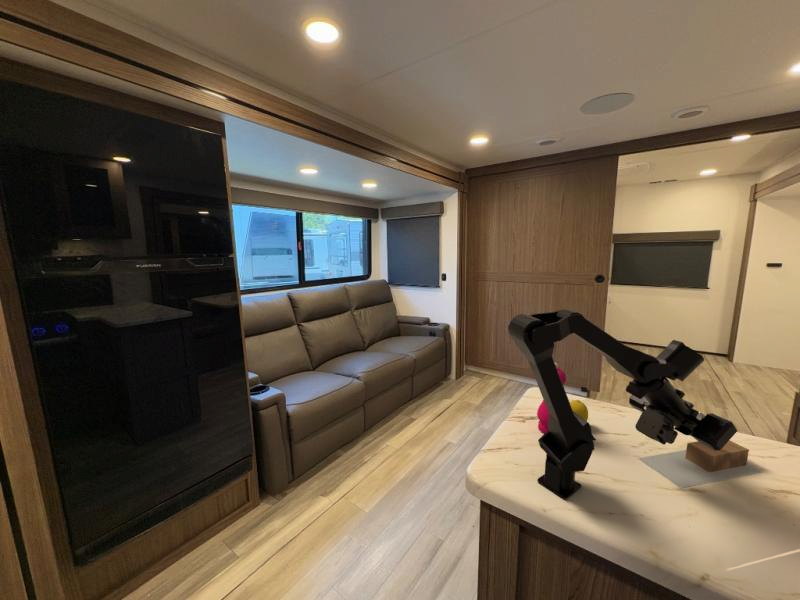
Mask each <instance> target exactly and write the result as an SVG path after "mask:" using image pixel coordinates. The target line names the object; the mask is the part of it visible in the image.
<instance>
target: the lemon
mask: <svg viewBox="0 0 800 600" xmlns="http://www.w3.org/2000/svg"><path fill="white" fill-rule="evenodd" d="M569 402H570V405H571V408H572V410H573V411H574V412H575V413H576V414H578V415H579V416H580V417H582V418H583V419H584V420H585V421H587V422H588V420H589V410H588V407H587V405H586V404H585V403H584V402H583V401H580V399H576V400H571V401H569Z"/></svg>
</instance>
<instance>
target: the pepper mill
mask: <svg viewBox="0 0 800 600" xmlns="http://www.w3.org/2000/svg"><path fill="white" fill-rule="evenodd" d="M554 363H555V365H556V368H557V371H558V373H559V376H560V378H561V381H562V384H563V385H564V384H565V383H566V382H567V376H566V373H565V372H564V371H563V370H562V369H561V368H559V364H558V362H555V361H554ZM536 417H537V419H538V422H537V423H538V424H537V429H538V431H539V432H540V431H541V434H543V433H544V434H545V433H546V432H547V431H548V430H549V427H548V421H549V417H550V415H549V412H548V409H547V407H546V404H545V402H544V399H542V402H541V403H540V404H539V406H538V408H537V411H536ZM544 434H543V435H544Z"/></svg>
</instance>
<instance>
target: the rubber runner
mask: <svg viewBox="0 0 800 600" xmlns="http://www.w3.org/2000/svg"><path fill="white" fill-rule="evenodd" d="M685 456H686V449H684V450H678V451H671V452H666V453H660V454H654V455H649V456H648V455H647V456H643V457H641V456H640V457H637V458H636V459H637V460H639V461H640V462H642V463H643V464H644V465H646V466H647V467H649V468H650V469H652V470H653V471H654V472H656V473H658V474H660V475H661V476H662V477H663V478H665V479H667V480H668V481H670V483H672V484H674V485H675V486H676V487H678V488H680V489H685V488H690V487H694V486H700V485H704V484H710V483H715V482H720V481H726V480H730V479H735V478H740V477H744V476H745V477H747V476H750V475H755V474H760V473H763V471H762V470H760V469H758V468H756V467H755V466H753V465H751V464H749V463H747V464H746V465H745V466H740V467H735V468H730V469H724V470H719V471H714V472H707V471H706V470H704V469H702V468H701V467H699V466H697V465H696V464H694V463H692V462H691V461H689V460H687V459H685Z"/></svg>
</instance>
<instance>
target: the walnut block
mask: <svg viewBox="0 0 800 600" xmlns="http://www.w3.org/2000/svg"><path fill="white" fill-rule="evenodd" d="M685 450H686V456H685V459H687V460H689V461H691V462H692V463H694V464H696V465H697V466H699V467H701V468H702V469H704V470H706V471H707V472H714V471H719V470H724V469H730V468H735V467H740V466H745V465H746V464H748V463H747V462H748V457H749V451H750V449H748V448H747V447H745V446H743V445H740V444H739V443H736V442H734V441H732V440H731V439H730V440H729V441H728V442H727V443H726V444H725V446H724V447H723V448H722V449H721V450H713V449H711V448H709V447H707V446H705V445H704V444H702V443H700V442H699V441H697V440H696V441H694V442H693V441H692V442H687V444H686V449H685Z"/></svg>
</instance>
